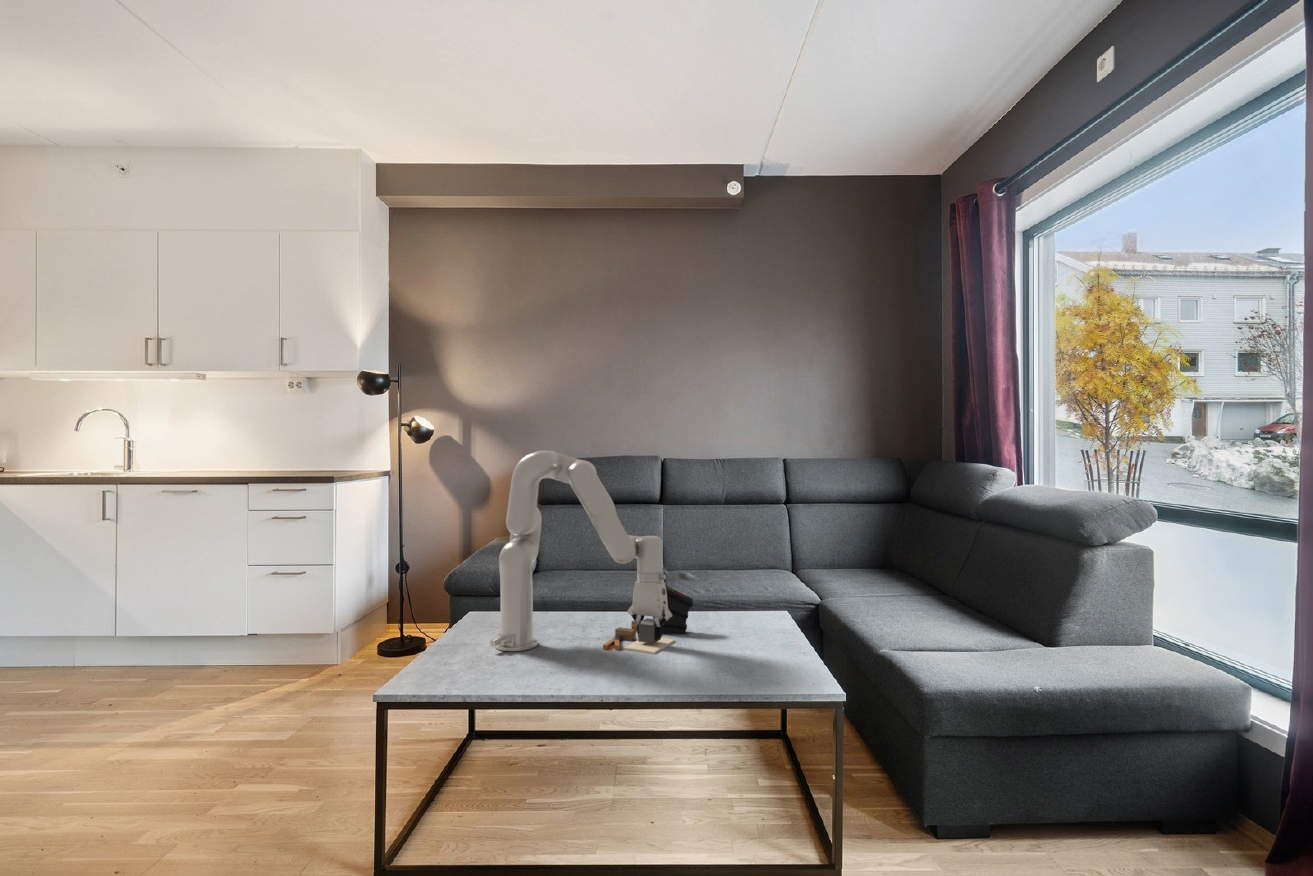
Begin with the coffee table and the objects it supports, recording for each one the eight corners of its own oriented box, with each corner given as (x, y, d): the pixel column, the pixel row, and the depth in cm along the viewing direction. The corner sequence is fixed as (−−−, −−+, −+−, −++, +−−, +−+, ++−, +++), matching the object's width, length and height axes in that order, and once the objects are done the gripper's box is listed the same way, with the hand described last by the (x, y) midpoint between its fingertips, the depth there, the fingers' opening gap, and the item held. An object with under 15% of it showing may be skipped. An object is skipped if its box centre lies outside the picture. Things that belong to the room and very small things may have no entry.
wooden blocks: (632, 641, 200) (632, 631, 200) (615, 638, 203) (615, 629, 203) (651, 631, 212) (651, 621, 212) (635, 628, 214) (635, 619, 214)
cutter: (619, 650, 191) (619, 645, 191) (602, 650, 191) (602, 645, 191) (625, 639, 202) (625, 635, 202) (609, 639, 202) (609, 634, 202)
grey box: (653, 643, 192) (653, 623, 192) (638, 641, 194) (638, 621, 195) (660, 639, 197) (660, 619, 197) (646, 637, 199) (646, 617, 199)
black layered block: (643, 625, 212) (662, 584, 212) (679, 643, 211) (699, 601, 211) (642, 628, 208) (662, 586, 208) (679, 646, 208) (699, 604, 208)
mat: (654, 654, 187) (654, 652, 187) (624, 649, 191) (624, 647, 191) (674, 641, 199) (674, 639, 199) (646, 637, 204) (646, 635, 204)
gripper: (680, 577, 195) (680, 638, 195) (630, 573, 203) (631, 631, 203) (669, 582, 189) (669, 645, 188) (618, 577, 196) (618, 637, 196)
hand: (649, 637), depth 195 cm, fingers closed on grey box, 5 cm apart
